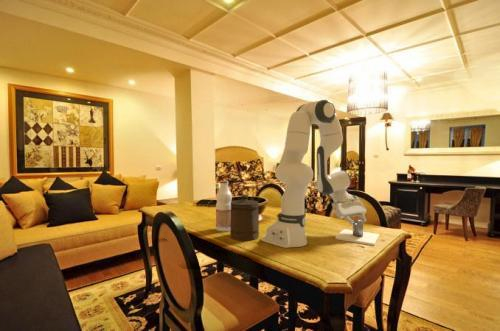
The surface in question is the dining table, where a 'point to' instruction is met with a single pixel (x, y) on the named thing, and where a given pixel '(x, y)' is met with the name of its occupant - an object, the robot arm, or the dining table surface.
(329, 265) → the dining table surface
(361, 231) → the steel tin
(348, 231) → the cream board
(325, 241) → the dining table surface
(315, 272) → the dining table surface
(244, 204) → the wooden container
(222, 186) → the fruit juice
